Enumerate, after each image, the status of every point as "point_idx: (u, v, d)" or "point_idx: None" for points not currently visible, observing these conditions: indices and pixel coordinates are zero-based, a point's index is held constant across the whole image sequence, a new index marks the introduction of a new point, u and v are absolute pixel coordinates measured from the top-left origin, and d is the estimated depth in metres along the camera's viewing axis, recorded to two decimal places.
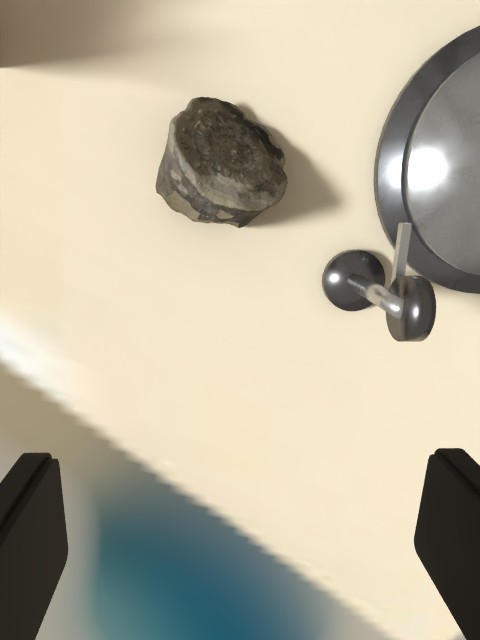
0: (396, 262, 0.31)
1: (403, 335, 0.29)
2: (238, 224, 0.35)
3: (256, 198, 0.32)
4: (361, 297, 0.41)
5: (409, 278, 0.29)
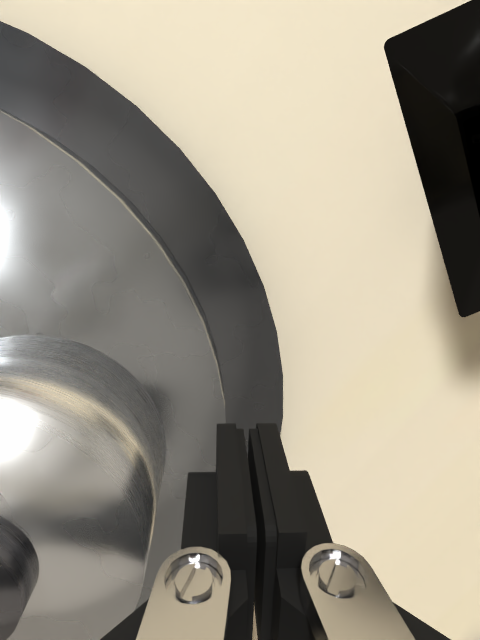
0: None
1: None
2: None
3: None
4: None
5: None
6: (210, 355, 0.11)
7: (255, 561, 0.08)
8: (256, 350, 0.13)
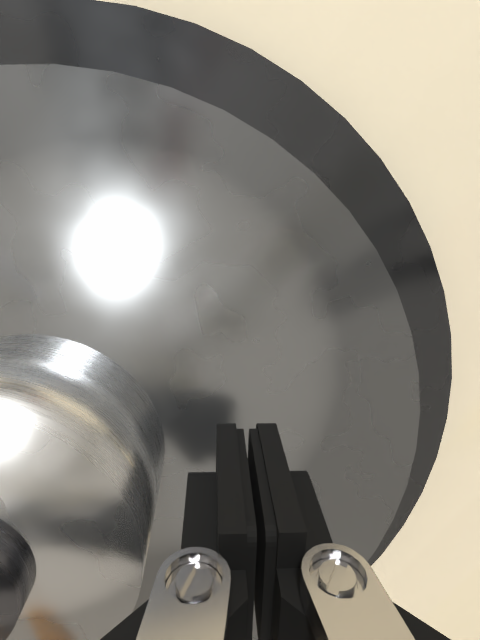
0: None
1: None
2: None
3: None
4: None
5: None
6: (414, 358, 0.12)
7: (255, 561, 0.08)
8: (429, 353, 0.14)
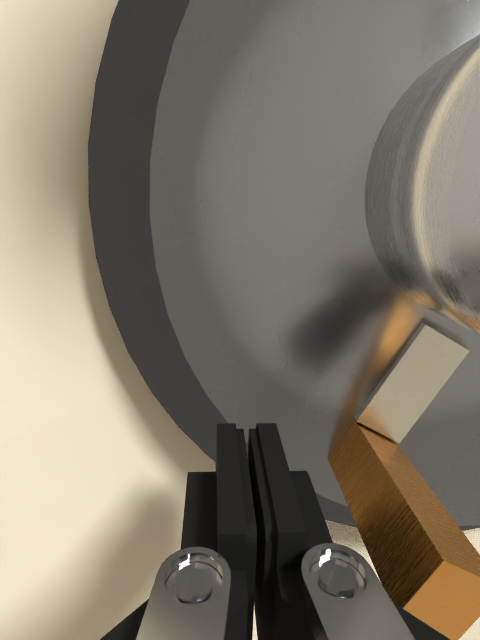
0: None
1: None
2: None
3: None
4: None
5: None
6: None
7: (255, 561, 0.08)
8: None
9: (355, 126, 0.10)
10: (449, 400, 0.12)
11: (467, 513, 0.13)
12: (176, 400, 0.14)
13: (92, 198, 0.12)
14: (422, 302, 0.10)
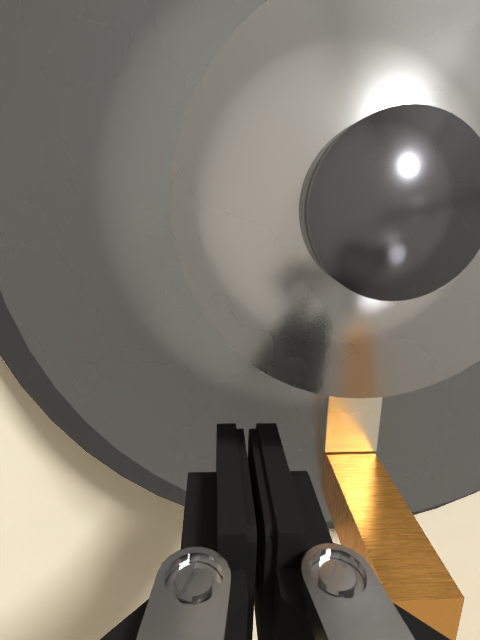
0: None
1: None
2: None
3: None
4: None
5: None
6: None
7: (255, 561, 0.08)
8: None
9: (166, 231, 0.11)
10: None
11: None
12: (47, 394, 0.14)
13: None
14: None
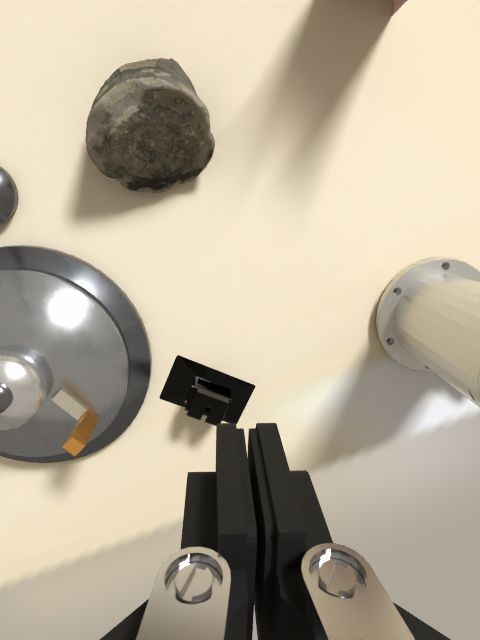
0: None
1: None
2: None
3: (99, 129, 0.32)
4: None
5: None
6: (62, 282, 0.39)
7: (255, 561, 0.08)
8: (139, 392, 0.44)
9: None
10: (77, 394, 0.42)
11: (120, 392, 0.42)
12: None
13: None
14: None
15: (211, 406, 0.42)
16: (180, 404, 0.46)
